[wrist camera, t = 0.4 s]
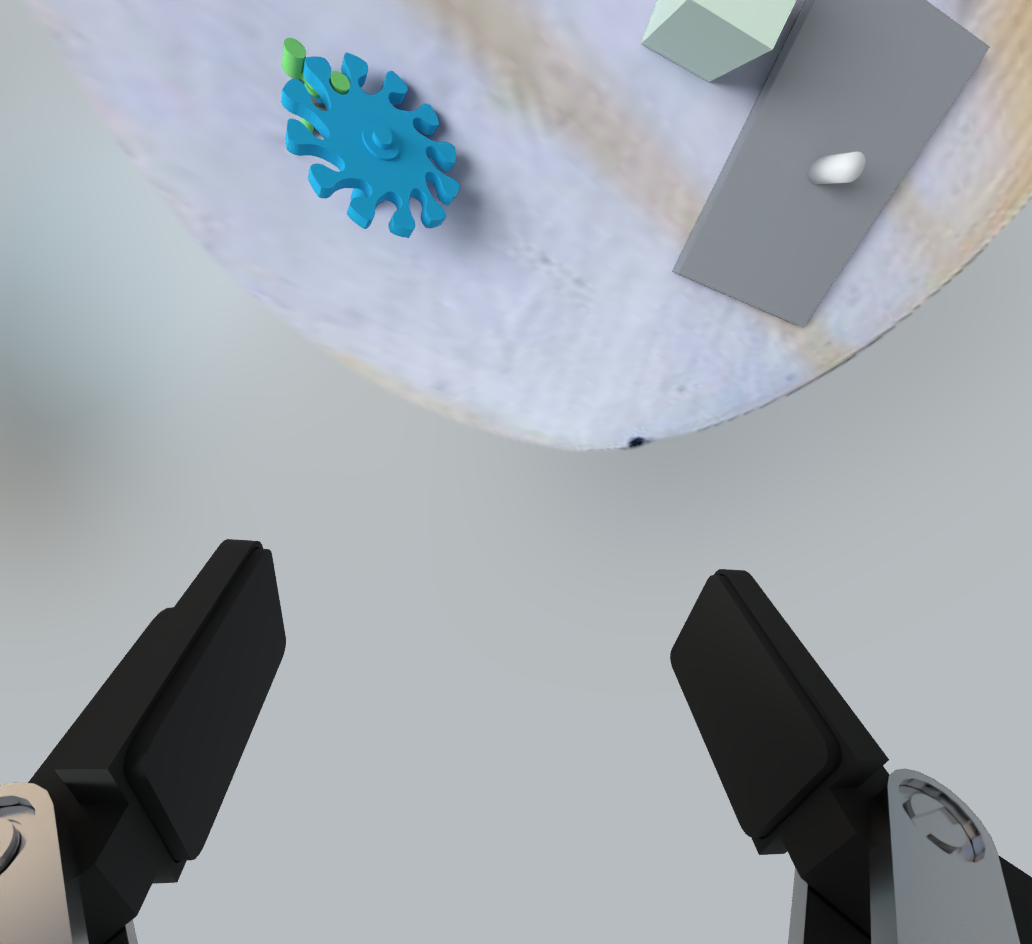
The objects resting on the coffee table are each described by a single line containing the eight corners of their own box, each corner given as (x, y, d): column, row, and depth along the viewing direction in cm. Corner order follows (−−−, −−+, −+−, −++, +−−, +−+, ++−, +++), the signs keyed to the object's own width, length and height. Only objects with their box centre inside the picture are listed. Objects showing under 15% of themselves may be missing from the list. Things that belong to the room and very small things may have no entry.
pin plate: (829, -49, 26) (888, -90, 22) (971, 52, 28) (1042, 30, 25) (672, 271, 34) (695, 279, 30) (794, 323, 37) (828, 336, 33)
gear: (493, 178, 28) (389, 255, 24) (454, 230, 33) (362, 302, 29) (364, 0, 25) (213, 52, 20) (342, 88, 30) (217, 145, 25)
